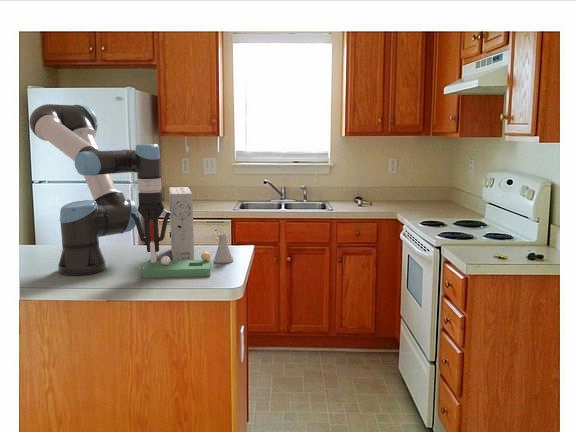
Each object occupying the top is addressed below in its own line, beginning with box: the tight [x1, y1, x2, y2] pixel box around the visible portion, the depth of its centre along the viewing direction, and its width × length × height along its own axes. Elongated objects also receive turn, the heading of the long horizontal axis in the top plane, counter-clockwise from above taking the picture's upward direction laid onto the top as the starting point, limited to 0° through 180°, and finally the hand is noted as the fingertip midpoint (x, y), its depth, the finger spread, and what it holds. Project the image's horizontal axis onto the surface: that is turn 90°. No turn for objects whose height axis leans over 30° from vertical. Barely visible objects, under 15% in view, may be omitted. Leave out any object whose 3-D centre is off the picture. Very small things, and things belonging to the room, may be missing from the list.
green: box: [141, 259, 213, 279], centre depth 178 cm, size 22×12×2 cm, turn 96°
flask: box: [213, 233, 234, 264], centre depth 192 cm, size 7×7×10 cm
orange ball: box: [200, 251, 212, 261], centre depth 183 cm, size 3×3×3 cm
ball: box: [160, 255, 171, 265], centre depth 178 cm, size 3×3×3 cm
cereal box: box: [168, 186, 195, 261], centre depth 201 cm, size 22×8×25 cm, turn 14°
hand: (153, 261), depth 177 cm, fingers closed
